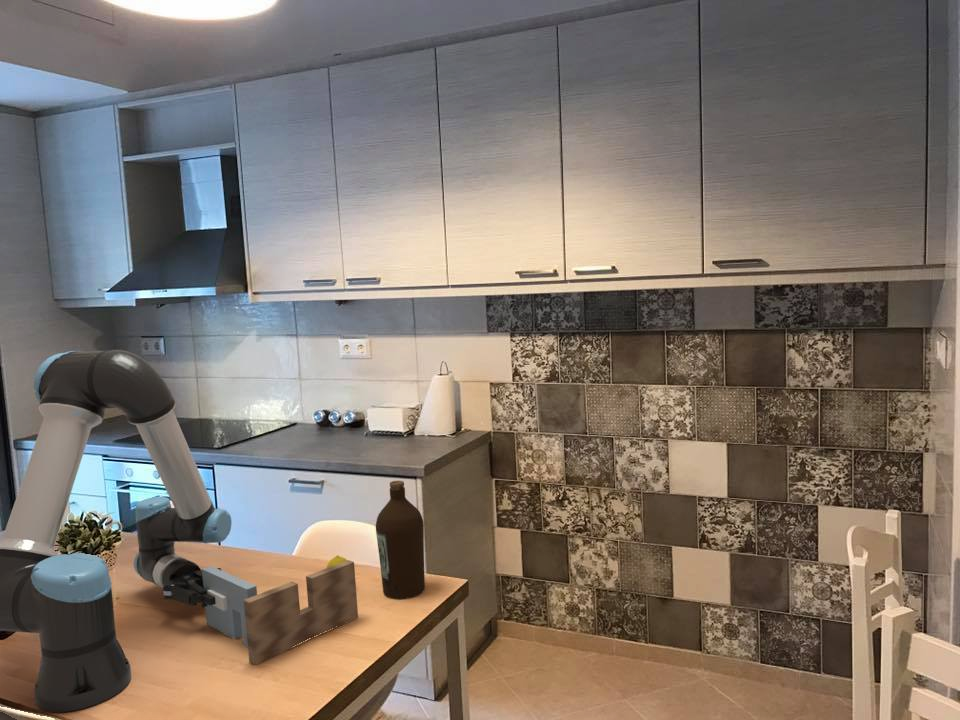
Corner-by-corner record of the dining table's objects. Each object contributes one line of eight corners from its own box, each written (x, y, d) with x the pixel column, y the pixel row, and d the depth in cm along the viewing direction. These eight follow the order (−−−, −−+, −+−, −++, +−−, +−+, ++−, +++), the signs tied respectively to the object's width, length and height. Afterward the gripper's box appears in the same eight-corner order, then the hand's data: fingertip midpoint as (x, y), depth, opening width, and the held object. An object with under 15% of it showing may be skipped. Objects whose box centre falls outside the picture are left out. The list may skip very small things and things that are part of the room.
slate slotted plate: (207, 624, 155) (201, 568, 154) (216, 620, 157) (210, 565, 155) (252, 649, 143) (246, 589, 142) (261, 645, 145) (256, 585, 143)
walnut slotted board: (254, 665, 137) (249, 602, 136) (249, 661, 138) (243, 600, 137) (358, 617, 154) (354, 562, 153) (352, 615, 156) (348, 560, 154)
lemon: (340, 596, 166) (338, 561, 165) (322, 591, 169) (319, 558, 168) (357, 587, 170) (354, 553, 170) (339, 583, 173) (336, 550, 173)
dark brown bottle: (421, 578, 173) (415, 473, 171) (432, 595, 163) (425, 484, 161) (376, 586, 170) (369, 479, 168) (384, 604, 160) (376, 491, 158)
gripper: (211, 580, 171) (266, 606, 155) (145, 603, 160) (197, 633, 144) (208, 549, 170) (263, 571, 154) (141, 569, 159) (194, 596, 143)
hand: (231, 601), depth 149 cm, fingers closed on slate slotted plate, 2 cm apart
